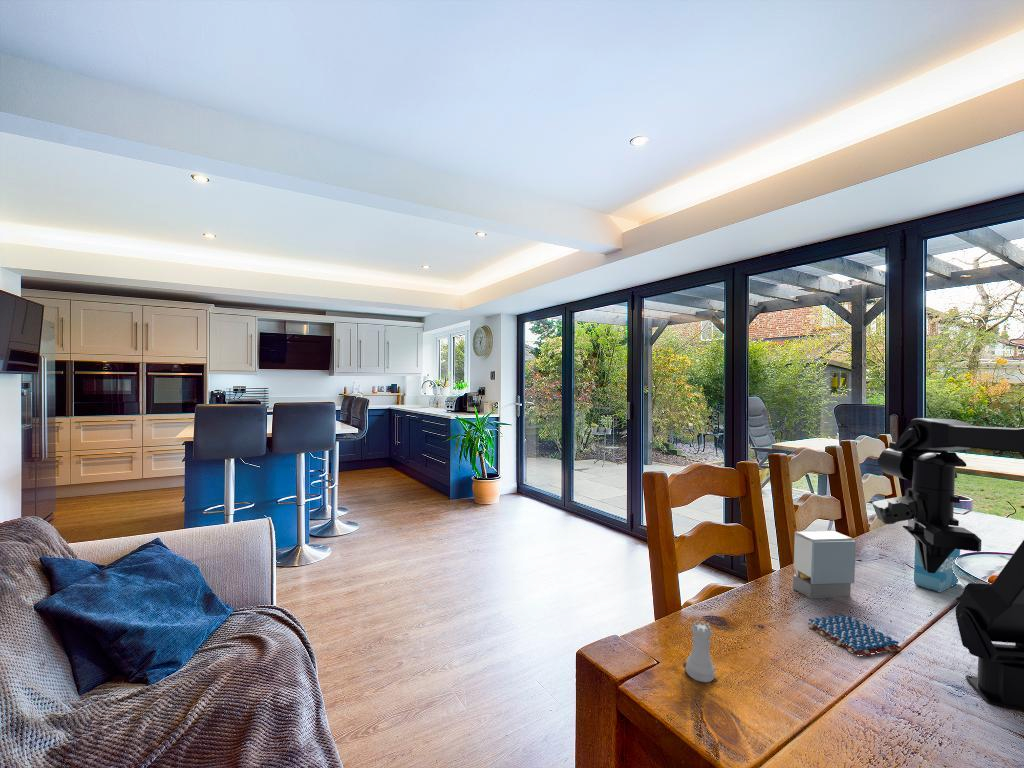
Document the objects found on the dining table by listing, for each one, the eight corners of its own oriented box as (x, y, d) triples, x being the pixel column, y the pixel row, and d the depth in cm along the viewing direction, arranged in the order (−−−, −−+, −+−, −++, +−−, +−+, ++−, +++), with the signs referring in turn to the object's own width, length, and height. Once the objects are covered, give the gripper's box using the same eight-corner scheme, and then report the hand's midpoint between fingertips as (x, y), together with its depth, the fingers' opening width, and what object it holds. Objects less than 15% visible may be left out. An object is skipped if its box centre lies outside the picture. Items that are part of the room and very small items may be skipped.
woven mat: (859, 661, 79) (859, 650, 79) (805, 628, 89) (805, 618, 89) (904, 654, 81) (905, 642, 81) (847, 622, 92) (847, 612, 91)
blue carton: (937, 593, 104) (940, 541, 104) (913, 585, 108) (915, 535, 108) (959, 583, 110) (961, 533, 110) (934, 576, 114) (936, 528, 114)
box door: (854, 582, 101) (855, 541, 101) (812, 584, 100) (814, 542, 99) (851, 581, 101) (853, 540, 101) (810, 583, 100) (812, 541, 100)
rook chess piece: (690, 662, 76) (692, 614, 76) (718, 673, 74) (720, 624, 73) (681, 675, 73) (682, 625, 73) (710, 688, 70) (712, 636, 70)
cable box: (850, 596, 102) (852, 538, 101) (810, 598, 100) (812, 539, 100) (831, 586, 107) (833, 530, 106) (792, 588, 105) (794, 531, 105)
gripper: (861, 473, 95) (859, 547, 96) (899, 493, 78) (896, 584, 78) (929, 478, 91) (926, 556, 92) (985, 501, 74) (981, 597, 74)
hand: (929, 571), depth 84 cm, fingers closed
